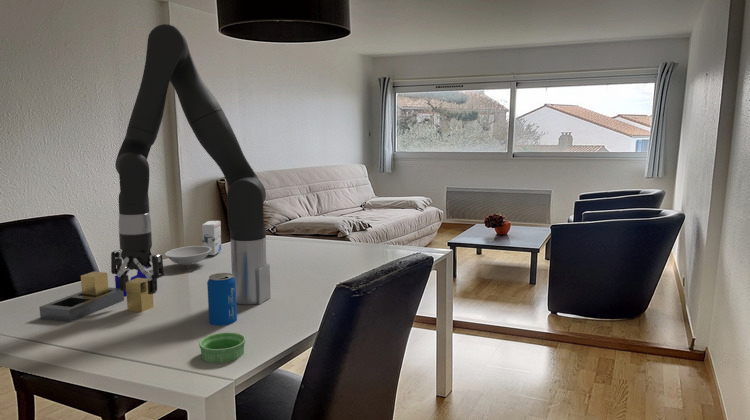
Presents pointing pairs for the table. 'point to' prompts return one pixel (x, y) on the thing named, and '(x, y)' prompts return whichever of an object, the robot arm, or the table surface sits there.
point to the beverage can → (222, 299)
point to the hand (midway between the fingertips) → (138, 291)
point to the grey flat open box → (79, 305)
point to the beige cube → (94, 284)
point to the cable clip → (139, 275)
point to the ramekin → (222, 340)
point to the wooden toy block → (138, 295)
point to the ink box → (212, 236)
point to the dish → (188, 254)
